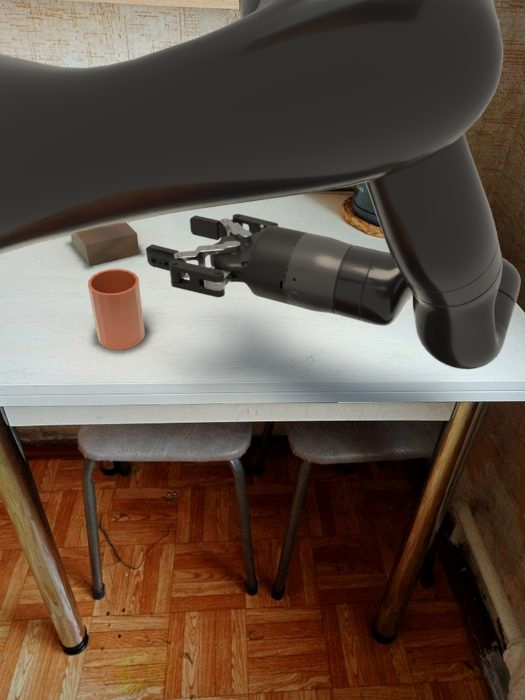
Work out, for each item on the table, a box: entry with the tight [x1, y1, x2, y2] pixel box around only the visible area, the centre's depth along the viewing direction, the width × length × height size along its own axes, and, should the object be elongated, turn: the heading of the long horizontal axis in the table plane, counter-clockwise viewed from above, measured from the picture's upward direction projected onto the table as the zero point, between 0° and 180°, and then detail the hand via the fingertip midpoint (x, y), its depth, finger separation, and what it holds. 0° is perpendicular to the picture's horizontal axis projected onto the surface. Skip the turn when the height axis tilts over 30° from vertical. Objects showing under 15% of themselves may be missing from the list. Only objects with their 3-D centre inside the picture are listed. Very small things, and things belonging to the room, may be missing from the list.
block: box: [70, 222, 140, 267], centre depth 90 cm, size 9×9×4 cm
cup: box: [87, 268, 146, 351], centre depth 69 cm, size 6×6×9 cm
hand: (171, 238), depth 58 cm, fingers open, 8 cm apart
